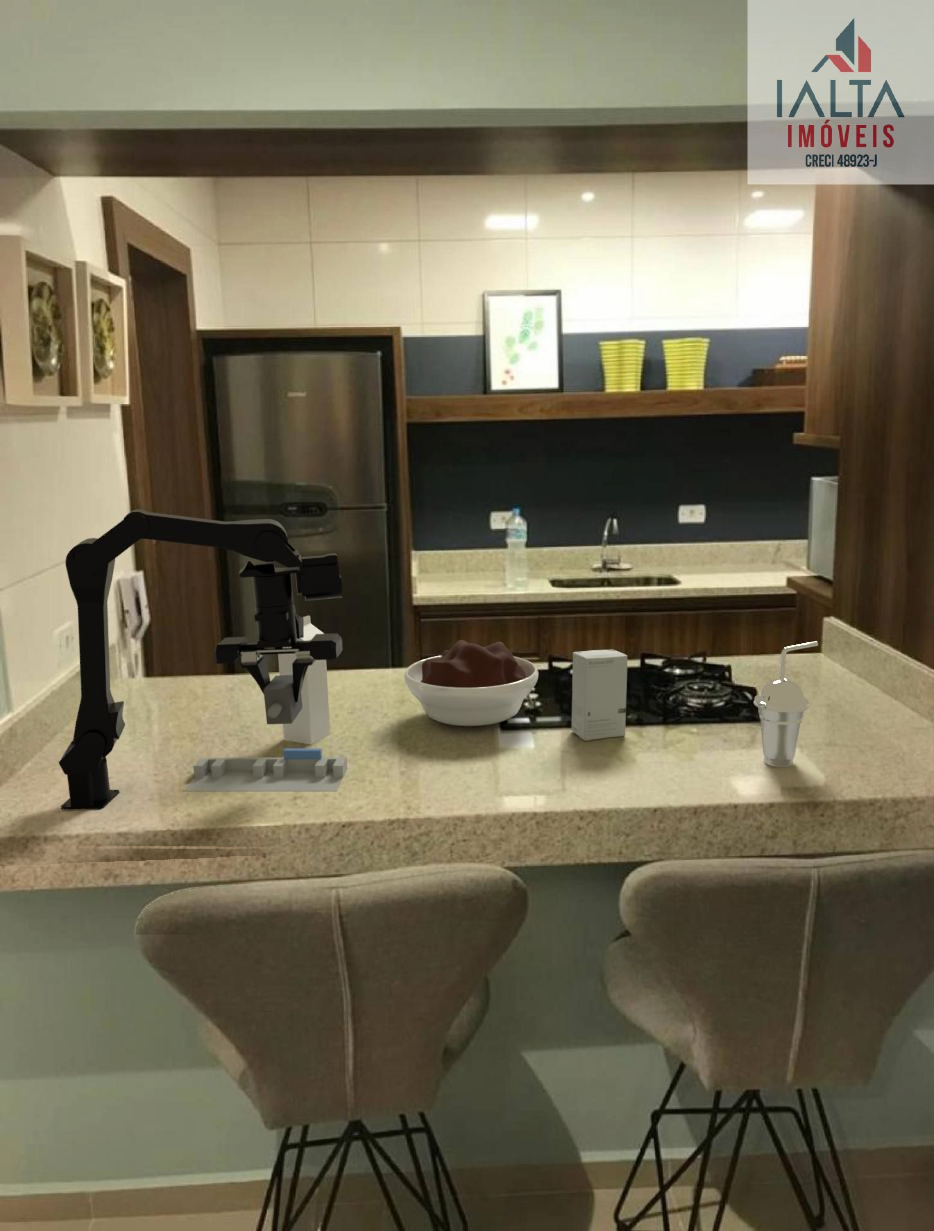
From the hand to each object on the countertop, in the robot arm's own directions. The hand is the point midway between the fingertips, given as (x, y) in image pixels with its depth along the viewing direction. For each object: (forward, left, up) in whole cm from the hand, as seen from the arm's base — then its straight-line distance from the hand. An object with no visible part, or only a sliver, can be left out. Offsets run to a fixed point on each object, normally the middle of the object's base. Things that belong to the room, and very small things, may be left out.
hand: (284, 701), depth 146 cm
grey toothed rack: (0, +4, -13) cm, 14 cm away
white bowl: (+31, -27, -14) cm, 44 cm away
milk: (+20, +2, -14) cm, 25 cm away
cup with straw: (+8, -78, -14) cm, 80 cm away
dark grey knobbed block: (-1, 0, -2) cm, 3 cm away
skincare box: (+22, -50, -14) cm, 57 cm away
